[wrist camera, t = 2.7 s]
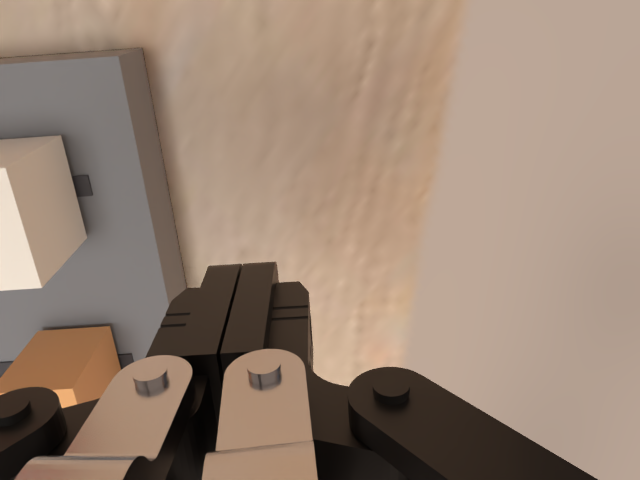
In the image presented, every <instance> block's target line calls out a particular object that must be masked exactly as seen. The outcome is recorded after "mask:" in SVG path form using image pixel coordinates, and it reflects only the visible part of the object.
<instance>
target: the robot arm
mask: <svg viewBox="0 0 640 480" xmlns="http://www.w3.org/2000/svg"><path fill="white" fill-rule="evenodd" d="M165 315H166V316H165V317H164V318H163V320H162V322H161V325H160V328H159V329H158V331H157V333H156V335H155V338H154V340H153V342H152V344H151V346H150V348H149V351H148V353H147V355H146V357H145V358H144V359H141V360H138V361H136V362H133V363H131V364H130V365H128V366H126V367H125V368H123V369H122V370H120V371H119V372H118V373H117V374H116V375H115V376H114V378H113V379H112V381H111V382H110V384H109V385H108V387H107V388H106V390H105V392H104V393H103V395H102V396H101V398H98V399H95V400H92V401H88V402H84V403H80V404H77V405H73V406H69V407H65V408H62V407H61V404H60V400H59V397H58V395H57V394H56V393H55V392H54V391H53V390H51V389H48V388H44V387H27V388H21V389H16V390H13V391H10V392H7V393H4V394H2V395H0V480H598V479H596V478H594V477H593V476H591V475H589V474H588V473H586V472H584V471H582V470H581V469H579V468H577V467H576V466H574V465H572V464H571V463H569V462H567V461H566V460H564V459H562V458H561V457H559V456H557V455H555V454H554V453H552V452H550V451H549V450H547V449H545V448H544V447H542V446H540V445H539V444H537V443H535V442H533V441H532V440H530V439H528V438H527V437H525V436H523V435H522V434H520V433H518V432H517V431H515V430H513V429H512V428H510V427H508V426H507V425H505V424H503V423H501V422H500V421H498V420H496V419H495V418H493V417H491V416H490V415H488V414H486V413H485V412H483V411H481V410H480V409H477V408H476V407H474V406H473V405H471V404H469V403H468V402H466V401H464V400H463V399H461V398H459V397H457V396H456V395H454V394H452V393H451V392H449V391H447V390H446V389H444V388H442V387H441V386H439V385H437V384H436V383H434V382H432V381H430V380H429V379H427V378H425V377H424V376H422V375H420V374H418V373H416V372H414V371H411V370H408V369H404V368H398V367H382V368H376V369H372V370H369V371H366V372H364V373H362V374H361V375H359V376H358V377H356V378H355V379H354V380H353V381H352V383H351V384H350V386H349V387H348V386H342V385H337V384H333V383H330V382H328V381H326V380H323V379H322V378H320V377H319V376H317V375H316V374H315V373H314V372H313V342H312V329H311V316H310V304H309V292H308V291H307V290H306V289H305V287H304V286H303V285H302V284H301V283H300V282H283V283H279V280H278V270H277V265H276V262H264V263H248V264H243V266H242V264H233V265H217V266H209V267H208V269H207V271H206V274H205V277H204V279H203V282H202V284H201V287H200V288H186V289H185V290H184V291H183V292H181V293H180V294H179V295H178V296H177V297H175V298H174V299H173V300H172V301H171V303H170V305H169V307H168V309H167V312H166V314H165Z"/></svg>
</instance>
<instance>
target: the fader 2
mask: <svg viewBox="0 0 640 480" xmlns="http://www.w3.org/2000/svg"><path fill="white" fill-rule="evenodd" d="M120 370H121V368H120V364H119V360H118V356H117V352H116V348H115V344H114V340H113V336H112V332H111V329H110V326H104V327H89V328H74V329H59V330H44V331H38V332H37V333H36V334H35V335H34V337H33V338H32V339H31V340H30V342H29V343H28V344H27V345H26V347H25V348H24V349H23V350H22V352H21V353H20V354H19V355H18V357H17V358H16V359H15V360H14V362H13V363H12V364H11V365H10V367H9V368H8V369H7V370H6V372H5V373H4V374H3V375H2V377H1V378H0V395H2V394H4V393H7V392H10V391H13V390H16V389H21V388H27V387H44V388H48V389H51V390H53V391H54V392H55V393H56V394H57V395H58V397H59V400H60V404H61V407H62V408H65V407H69V406H73V405H77V404H80V403H84V402H88V401H92V400H95V399H98V398H101V396H102V395H103V393H104V392H105V390H106V388H107V387H108V385H109V384H110V382H111V381H112V379H113V378H114V376H115V375H116V374H117V373H118V372H119V371H120Z"/></svg>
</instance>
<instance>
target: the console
mask: <svg viewBox="0 0 640 480" xmlns="http://www.w3.org/2000/svg"><path fill="white" fill-rule="evenodd" d="M57 135H61V138H62V142H63V145H64V149H65V153H66V157H67V161H68V165H69V169H70V173H71V177H72V181H73V184H74V188H75V192H76V196H77V200H78V204H79V208H80V212H81V216H82V219H83V223H84V227H85V231H86V235H87V239H86V240H85V241H84V242H83V243H82V244H81V245H80V246H79V247H78V249H77V250H76V251H75V252H74V253H73V254H72V255H71V256H70V257H69V259H68V260H67V261H66V262H65V263H64V264H63V265H62V266H61V267H60V269H59V270H58V271H57V272H56V273H55V274H54V275H53V276H52V277H51V279H50V280H49V281H48V282H47V283H46V284H45V285H44V286H43V287H42V288H35V289H20V290H5V291H0V378H1V377H2V375H3V374H4V373H5V372H6V370H7V369H8V368H9V367H10V365H11V364H12V363H13V362H14V360H15V359H16V358H17V357H18V355H19V354H20V353H21V352H22V350H23V349H24V348H25V347H26V345H27V344H28V343H29V342H30V340H31V339H32V338H33V337H34V335H35V334H36V333H37V332H38V331H44V330H59V329H74V328H89V327H104V326H110V329H111V332H112V336H113V340H114V344H115V348H116V352H117V356H118V360H119V364H120V368H121V370H122V369H123V368H125V367H126V366H128V365H130V364H131V363H133V362H136V361H138V360H141V359H144V358H145V357H146V355H147V353H148V351H149V348H150V346H151V344H152V342H153V340H154V338H155V335H156V333H157V331H158V329H159V328H160V325H161V322H162V320H163V318H164V317H165V316H166V315H165V314H166V312H167V309H168V307H169V305H170V303H171V301H172V300H173V299H174V298H175V297H177V296H178V295H179V294H180V293H181V292H183V291H184V290H185V289H186V288H187V286H186V281H185V275H184V270H183V265H182V259H181V254H180V249H179V243H178V238H177V232H176V227H175V222H174V216H173V211H172V205H171V200H170V195H169V189H168V184H167V178H166V173H165V168H164V162H163V157H162V152H161V146H160V141H159V135H158V130H157V125H156V119H155V114H154V108H153V103H152V98H151V92H150V87H149V81H148V76H147V71H146V65H145V60H144V55H143V49H142V48H133V49H119V50H105V51H91V52H77V53H64V54H50V55H36V56H22V57H8V58H0V140H1V139H15V138H29V137H43V136H57Z"/></svg>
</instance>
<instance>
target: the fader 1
mask: <svg viewBox="0 0 640 480" xmlns="http://www.w3.org/2000/svg"><path fill="white" fill-rule="evenodd" d="M86 239H87V235H86V231H85V227H84V223H83V219H82V216H81V212H80V208H79V204H78V200H77V196H76V192H75V188H74V184H73V181H72V177H71V173H70V169H69V165H68V161H67V157H66V153H65V149H64V145H63V142H62V138H61V135H57V136H43V137H29V138H15V139H1V140H0V291H5V290H20V289H35V288H42V287H43V286H44V285H45V284H46V283H47V282H48V281H49V280H50V279H51V277H52V276H53V275H54V274H55V273H56V272H57V271H58V270H59V269H60V267H61V266H62V265H63V264H64V263H65V262H66V261H67V260H68V259H69V257H70V256H71V255H72V254H73V253H74V252H75V251H76V250H77V249H78V247H79V246H80V245H81V244H82V243H83V242H84V241H85V240H86Z"/></svg>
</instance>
